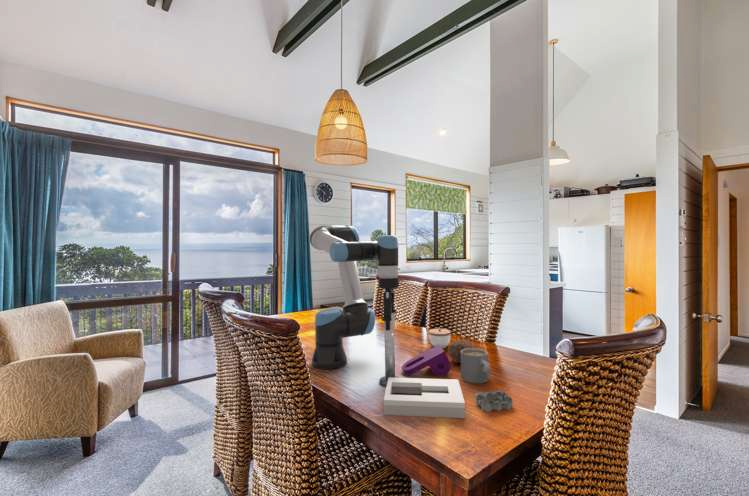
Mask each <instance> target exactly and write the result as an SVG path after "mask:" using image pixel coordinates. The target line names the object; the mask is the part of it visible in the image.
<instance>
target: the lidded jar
mask: <svg viewBox="0 0 749 496" xmlns="http://www.w3.org/2000/svg"><path fill="white" fill-rule="evenodd" d="M451 335H452V331H451V330H450V329H446V328H441V327H438V328H432V329H429V330H428V336H429V337H428V338H429V342H430V344H431V345H432V346H433V347H435V346H437V345H440V347H441V348H442V349H446V348H447V346H449V344H450V342H451Z"/></svg>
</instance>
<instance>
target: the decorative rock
mask: <svg viewBox="0 0 749 496" xmlns="http://www.w3.org/2000/svg"><path fill="white" fill-rule="evenodd" d="M466 348H476V346H475V345H474V344H473V343H472V342H470V341H469V340H468V339H463V338H462V339H459V340H458V339H457V340H454V341H452V342H451V343H450V345H448V347H447V353H448V354H449V357H450V358H451V359H452V361H453V362H454V363H455V364H456V363H461V350H463V349H466Z"/></svg>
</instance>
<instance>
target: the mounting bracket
mask: <svg viewBox="0 0 749 496" xmlns="http://www.w3.org/2000/svg"><path fill="white" fill-rule="evenodd" d="M451 366H452V365H451V362H450V359H449V357H448V355H447V353H446V352H445V350H444V348H441V347H440V345H437V346H435V347H434V346H433V347H431V348H430V349H427V350H425V351H424V352H422V353H420V354H418V355H416V356H415V357H412V358H410V359H409V360H407V361H405V362H404V363H403V365H402V366H401V370H402V372H403V374H404V375H406V376H410V375H414V374H416V373H418V372H420V371H421V370H423V369H425V368H427V367H429V369H430V370H431V372H432V373H433V375H435V376H437V377H444V376H443V375H445V376H446V375H448V374H449V373H450V371H451Z"/></svg>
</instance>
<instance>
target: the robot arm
mask: <svg viewBox="0 0 749 496" xmlns="http://www.w3.org/2000/svg"><path fill="white" fill-rule="evenodd" d="M398 240H399V239H398V236H397V235H395V234H394V235H392V234H390V235H379V236H378V237H377V240H376V241H375V240H374V241H371V240H370V241H360V234H359V232H358V230H357V228H356V227H355V226H352V225H320V226H318V227H316V228H314V229H313V230H312V231H311V232H310V234H309V242H310V245H311V246H312V247H313V248H314V249H316V250H318V251H324V252H325V253H328V254H329V257H330V259H331V261H332V262H333V263H337V264H338V270H339V277H340V281H341V287H342V292H343V293H342V294H343V298H344V305H343V306H342V308H341V307H329V308H325V309H321V310H319V311H317V312H316V314H315V317H314V329H315V330H314V331H315V348H314V350H313V353H312V357H311V366H312V367H314V368H316V369H320V370H332V369H339V368H341V367H344V366H346V364H347V363H348V359H347V358H348V357H347V354H346V351H345V349H344V345H343V339H344V338H350V337H357V336H358V337H359V336H364V335H369V334H371V333H372V332H373V330H374V328H375V325H376V324H375V323H376V315H375V311H374V309H373V308H372V307H369V304H368V302H366V301H365V300H364V296H363V292H362V285H361V281H360V275H359V271H358V270H359V269H358V265H357V262H367V261H368V262H369V261H370V262H371V261H374V262H375V261H376V262H377V263H378V264H377V265H378V266H377V276H378V277H379V278H378V288H379V289H384V292H383V294H382V295H383V296H382V297H383V317H382V318H381V321H382V322H383V334H384V339H383V340H385V339H392V333H393V331H396V326H395V325H396V323H395V322H396V321H395V313H397V310H396V309H395V292H394V291H395V290H394V289H398V288H399V287H400V278H399V277H398V276H399V271H401V268H400V267H399V242H398Z"/></svg>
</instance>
